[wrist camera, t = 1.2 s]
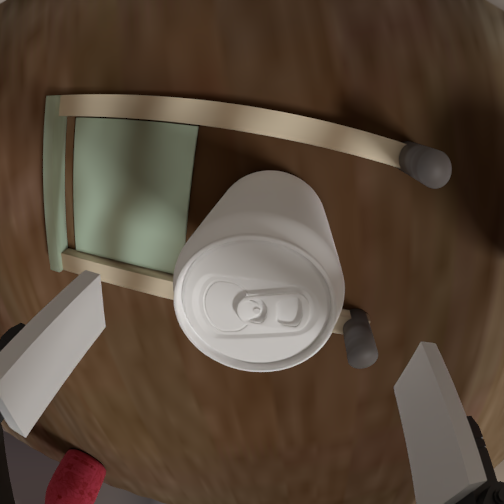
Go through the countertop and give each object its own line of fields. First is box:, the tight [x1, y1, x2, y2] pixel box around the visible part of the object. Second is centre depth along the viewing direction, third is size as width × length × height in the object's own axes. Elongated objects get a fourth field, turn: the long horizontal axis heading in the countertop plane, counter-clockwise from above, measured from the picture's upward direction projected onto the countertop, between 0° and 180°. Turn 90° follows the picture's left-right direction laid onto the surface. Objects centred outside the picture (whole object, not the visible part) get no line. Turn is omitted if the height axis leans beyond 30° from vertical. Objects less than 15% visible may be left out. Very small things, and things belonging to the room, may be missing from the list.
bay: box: [43, 94, 452, 369], centre depth 22 cm, size 30×17×5 cm, turn 81°
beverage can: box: [173, 170, 345, 372], centre depth 19 cm, size 8×8×12 cm
